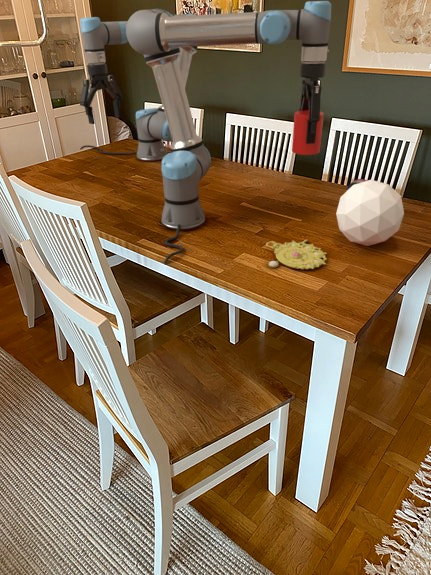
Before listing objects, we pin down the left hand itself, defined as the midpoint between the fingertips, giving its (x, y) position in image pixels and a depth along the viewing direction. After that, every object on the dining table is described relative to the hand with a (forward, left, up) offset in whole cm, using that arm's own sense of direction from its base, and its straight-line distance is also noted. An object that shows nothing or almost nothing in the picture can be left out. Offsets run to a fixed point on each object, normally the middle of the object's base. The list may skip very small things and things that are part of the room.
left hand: (105, 120), depth 184 cm
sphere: (+114, +7, -25) cm, 117 cm away
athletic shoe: (+102, +33, -25) cm, 110 cm away
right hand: (+87, +13, +1) cm, 88 cm away
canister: (+87, +13, -2) cm, 88 cm away
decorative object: (+101, -15, -25) cm, 105 cm away
